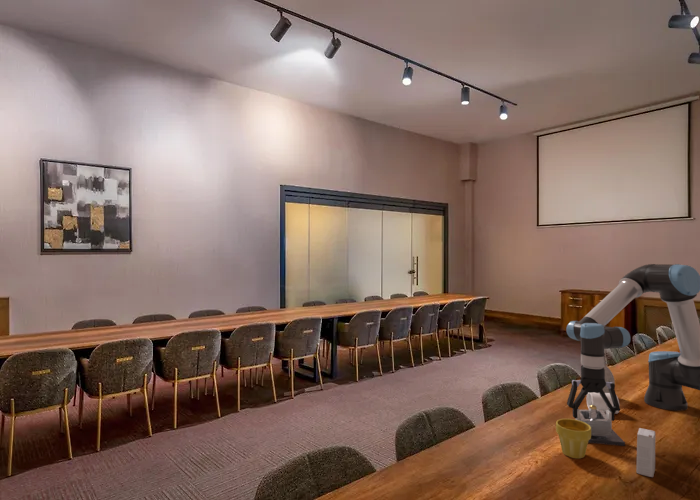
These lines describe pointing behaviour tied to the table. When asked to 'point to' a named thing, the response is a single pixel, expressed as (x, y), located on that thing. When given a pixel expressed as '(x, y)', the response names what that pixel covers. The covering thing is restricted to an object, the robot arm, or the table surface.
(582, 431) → the plant pot
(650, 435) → the skincare box
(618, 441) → the keeper
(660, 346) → the table surface
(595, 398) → the mug
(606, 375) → the vase
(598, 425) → the link
